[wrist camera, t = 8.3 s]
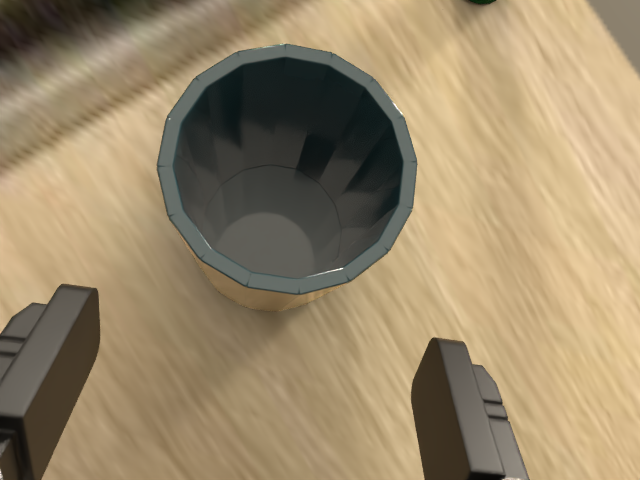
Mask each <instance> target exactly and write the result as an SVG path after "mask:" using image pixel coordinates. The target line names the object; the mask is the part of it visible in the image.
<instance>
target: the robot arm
mask: <svg viewBox="0 0 640 480" xmlns="http://www.w3.org/2000/svg"><path fill="white" fill-rule="evenodd" d="M99 344H100V318H99V297H98V291H97V289H96V288H91V287H84V286H76V285H69V284H61V285H60V286H59V287H58V288H57V290H56V292H55V293H54V295H53V296H52V298H51V300H50V301H49V303H48V304H47V305H46V304H39V303H31V304H30V305H29V306H27V307H26V308H24V309H23V310H22V311H20V312H19V313H17V314H16V315H15V316H13V317H12V318H11V320H10V321H9V323H8V324H7V325H6V327H5V328H4V330H3V331H2V333H1V334H0V480H41V479H42V476H43V474H44V472H45V470H46V468H47V466H48V463H49V461H50V459H51V457H52V455H53V452H54V450H55V448H56V446H57V444H58V441H59V439H60V437H61V435H62V433H63V430H64V428H65V426H66V424H67V422H68V419H69V417H70V415H71V413H72V411H73V408H74V406H75V404H76V402H77V400H78V397H79V395H80V393H81V391H82V389H83V386H84V384H85V382H86V380H87V378H88V375H89V373H90V371H91V369H92V367H93V364H94V362H95V360H96V357H97V353H98V349H99ZM411 403H412V409H413V415H414V421H415V426H416V432H417V438H418V443H419V449H420V455H421V461H422V466H423V472H424V478H425V480H530V479H529V477H528V474H527V471H526V468H525V465H524V462H523V459H522V457H521V454H520V451H519V448H518V445H517V442H516V439H515V436H514V433H513V431H512V428H511V425H510V422H509V421H508V416H507V413H506V410H505V408H504V406H502V399H501V396H500V393H499V390H498V387H497V385H496V383H495V381H494V380H493V379H492V377H491V376H490V375H489V374H488V372H487V371H486V370H485V368H484V367H483V366H482V365H474V364H472V362H471V359H470V356H469V353H468V350H467V347H466V345H465V343H464V342H462V341H456V340H449V339H442V338H432V339H431V340H430V342H429V344H428V346H427V349H426V351H425V353H424V356H423V358H422V360H421V363H420V365H419V367H418V370H417V372H416V374H415V377H414V379H413V383H412V389H411Z"/></svg>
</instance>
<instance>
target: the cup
mask: <svg viewBox="0 0 640 480" xmlns="http://www.w3.org/2000/svg"><path fill="white" fill-rule="evenodd" d="M157 172H158V177H159V181H160V185H161V190H162V194H163V199H164V203H165V207H166V212H167V216H168V217H169V220H170V221H171V223H172V224H173V226H174V228H175V229H176V231H177V232H178V234H179V235H180V237H181V239H182V240H183V242H184V243H185V245H186V246H187V248H188V250H189V251H190V253H191V254H192V256H193V257H194V259H195V261H196V262H197V264H198V265H199V267H200V268H201V269H202V271H203V272H204V274H205V275H206V276H207V278H208V279H209V280H210V282H211V283H212V284H213V286H214V287H215V288H216V290H218V292H220V293H222V294H223V295H225V296H226V297H228V298H229V299H231V300H232V301H234V302H236V303H238V304H240V305H242V306H244V307H246V308H252V309H257V310H263V311H274V312H276V311H282V310H286V309H291V308H294V307H297V306H301V305H305V304H308V303H310V302H312V301H314V300H316V299H318V298H320V297H322V296H324V295H325V294H327V293H329V292H331V291H333V290H335V289H337V288H339V287H341V286H343V285H345V284H347V283H349V282H351V281H352V280H354V279H355V278H356V277H358V276H359V275H360V274H361V273H363V272H364V271H365V270H367V269H368V268H369V267H371V266H372V265H373V264H374V263H376V262H377V261H378V260H380V259H381V258H382V257H384V256H385V255H386V254H387V253H388V252H389V251H390V250H391V248H392V246H393V245H394V243H395V241H396V239H397V237H398V236H399V234H400V232H401V230H402V228H403V227H404V225H405V223H406V221H407V219H408V217H409V216H410V214H411V212H412V209H413V203H414V193H415V183H416V174H417V158H416V155H415V152H414V148H413V145H412V141H411V138H410V135H409V131H408V128H407V125H406V121H405V118H404V117H403V114H402V113H401V112H400V110H399V109H398V108H397V107H396V105H395V104H394V103H393V101H392V100H391V99H390V98H389V96H388V95H387V94H386V92H385V91H384V90H383V89H382V87H381V86H380V85H379V83H378V82H377V81H376V80H375V79H374V78H373V77H372V76H370V75H368V74H367V73H365V72H364V71H362V70H360V69H359V68H357V67H355V66H354V65H352V64H350V63H349V62H347V61H346V60H344V59H342V58H341V57H339V56H337V55H336V54H334V53H333V54H332V53H331V52H327V51H322V50H316V49H311V48H306V47H301V46H296V45H291V44H278V45H272V46H266V47H260V48H254V49H249V50H243V51H238V52H235V53H234V54H232V55H230V56H229V57H227V58H225V59H224V60H222V61H221V62H219V63H217V64H216V65H214V66H212V67H211V68H209V69H207V70H206V71H204V72H203V73H201V74H199V75H198V76H196V78H194V79H193V80H192V82H191V83H190V85H189V86H188V88H187V89H186V90H185V92H184V93H183V95H182V96H181V97H180V99H179V100H178V102H177V103H176V104H175V106H174V107H173V109H172V110H171V112H170V113H169V114H168V116H167V118H166V121H165V126H164V131H163V136H162V141H161V146H160V151H159V156H158V161H157Z"/></svg>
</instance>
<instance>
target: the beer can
mask: <svg viewBox="0 0 640 480" xmlns="http://www.w3.org/2000/svg"><path fill="white" fill-rule="evenodd" d="M469 1H471V2H474V3H478V4H489V3H492V2H494V1H496V0H469Z"/></svg>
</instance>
